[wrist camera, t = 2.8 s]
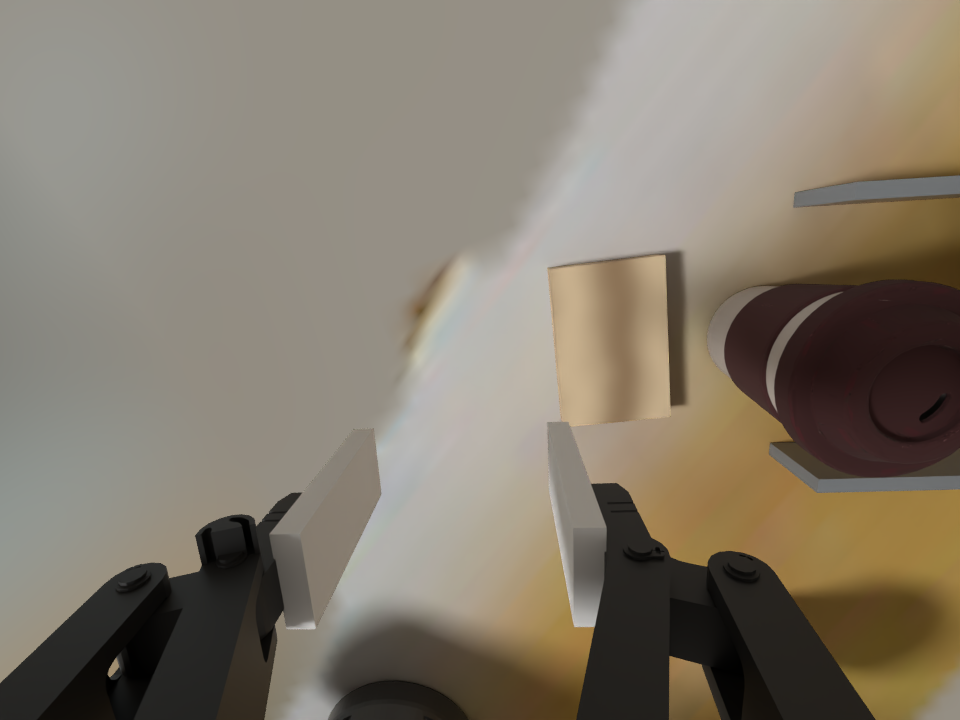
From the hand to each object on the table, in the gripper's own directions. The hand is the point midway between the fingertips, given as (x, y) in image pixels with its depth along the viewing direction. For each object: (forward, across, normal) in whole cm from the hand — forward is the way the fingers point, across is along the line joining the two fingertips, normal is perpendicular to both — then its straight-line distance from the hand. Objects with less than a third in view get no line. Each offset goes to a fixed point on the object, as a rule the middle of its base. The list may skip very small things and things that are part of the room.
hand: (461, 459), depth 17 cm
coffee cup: (+20, +20, 0) cm, 29 cm away
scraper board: (+20, +10, 0) cm, 23 cm away
